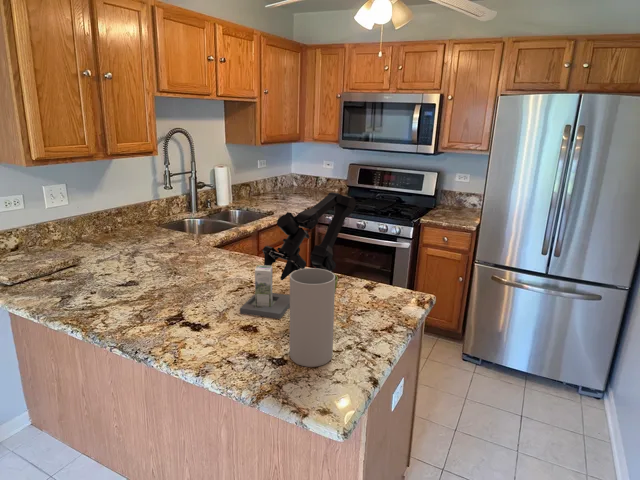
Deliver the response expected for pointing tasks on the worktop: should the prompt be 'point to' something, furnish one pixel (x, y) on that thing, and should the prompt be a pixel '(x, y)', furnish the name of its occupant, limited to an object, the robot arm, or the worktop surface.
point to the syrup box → (263, 286)
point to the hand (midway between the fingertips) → (272, 276)
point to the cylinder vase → (311, 316)
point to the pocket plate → (275, 311)
